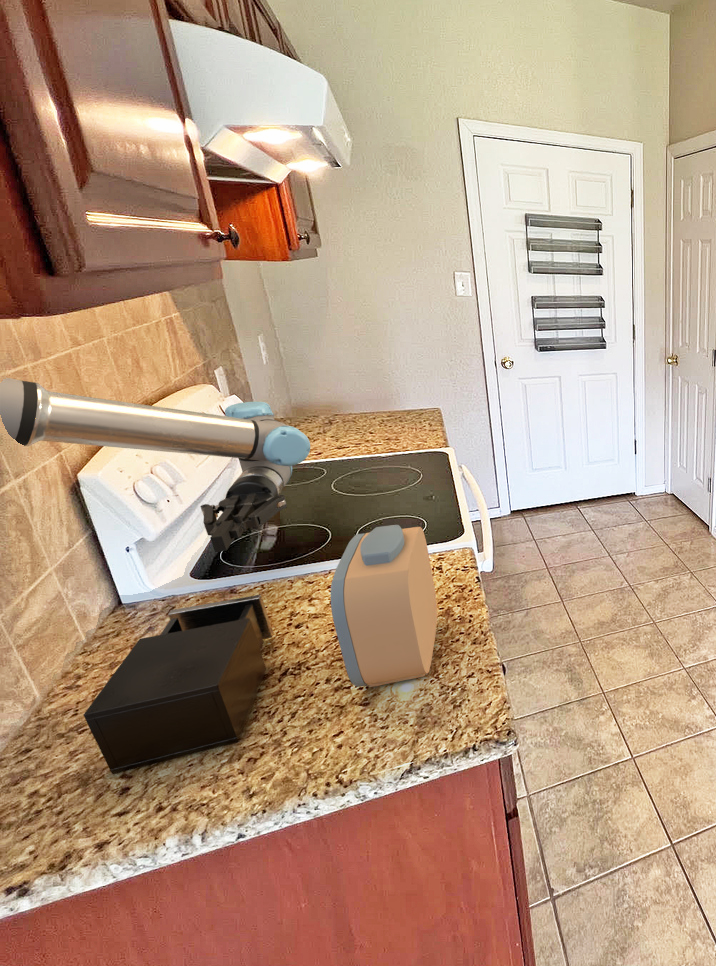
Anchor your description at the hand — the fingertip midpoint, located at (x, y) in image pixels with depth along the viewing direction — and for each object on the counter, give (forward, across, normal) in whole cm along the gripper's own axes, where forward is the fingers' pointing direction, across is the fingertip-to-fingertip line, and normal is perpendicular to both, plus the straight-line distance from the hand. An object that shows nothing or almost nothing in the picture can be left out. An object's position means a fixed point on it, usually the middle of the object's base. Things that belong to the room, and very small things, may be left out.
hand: (218, 544), depth 94 cm
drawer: (+12, 0, -15) cm, 19 cm away
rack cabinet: (+24, 0, -16) cm, 28 cm away
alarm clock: (+21, -25, -16) cm, 36 cm away
